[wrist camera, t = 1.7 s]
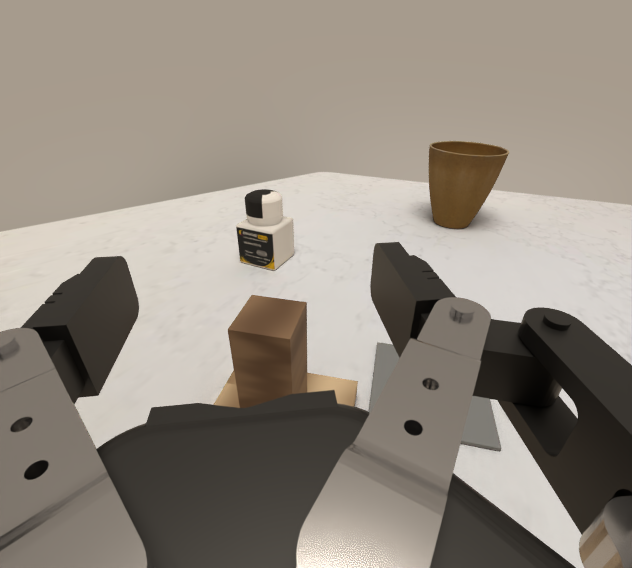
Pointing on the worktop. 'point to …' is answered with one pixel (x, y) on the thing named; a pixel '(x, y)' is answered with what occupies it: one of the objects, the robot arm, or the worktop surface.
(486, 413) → the grey mat
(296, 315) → the walnut post
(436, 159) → the plant pot
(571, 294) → the worktop surface
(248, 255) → the medicine bottle
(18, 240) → the worktop surface
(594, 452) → the robot arm
